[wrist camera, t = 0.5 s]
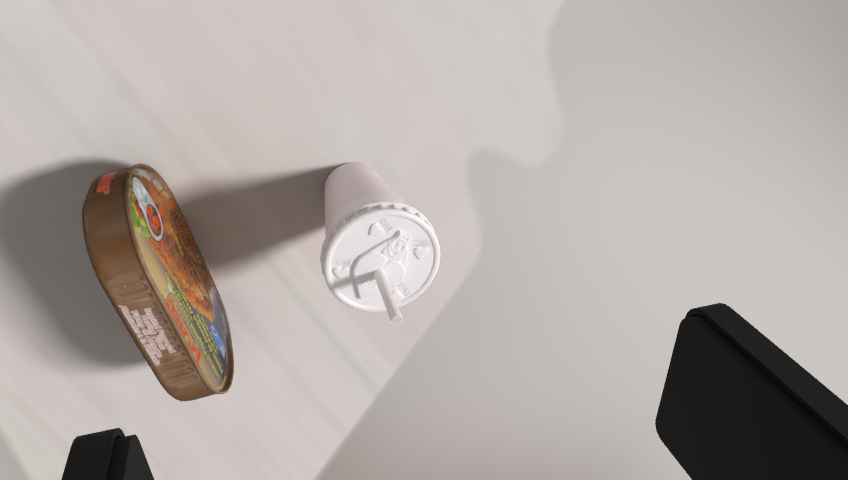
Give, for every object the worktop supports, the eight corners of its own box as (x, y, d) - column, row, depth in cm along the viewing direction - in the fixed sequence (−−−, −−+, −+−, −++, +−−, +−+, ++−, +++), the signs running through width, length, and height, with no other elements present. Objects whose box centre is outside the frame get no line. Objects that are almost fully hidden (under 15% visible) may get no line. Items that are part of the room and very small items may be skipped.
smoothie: (285, 206, 39) (308, 341, 27) (336, 124, 37) (384, 230, 25) (367, 244, 42) (419, 380, 30) (417, 170, 40) (494, 283, 28)
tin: (237, 333, 42) (238, 420, 35) (193, 347, 42) (185, 437, 35) (149, 139, 34) (128, 202, 27) (93, 154, 34) (57, 222, 27)
